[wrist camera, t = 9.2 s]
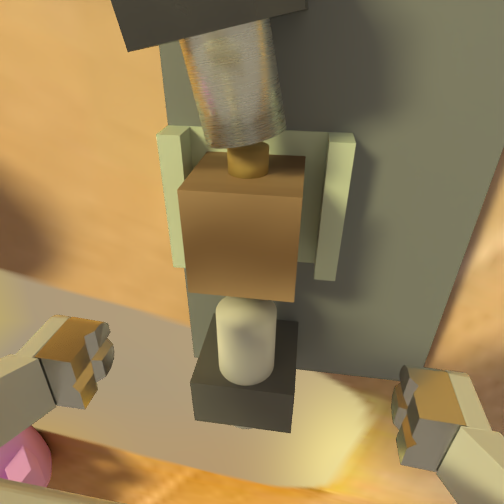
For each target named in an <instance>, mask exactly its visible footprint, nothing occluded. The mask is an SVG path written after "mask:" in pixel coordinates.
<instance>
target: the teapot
mask: <svg viewBox="0 0 504 504" xmlns="http://www.w3.org/2000/svg"><path fill="white" fill-rule="evenodd" d="M51 472H52V459H51V452H50V449H49V447H48V446H47V444H46V442H45V441H44V439H43V438H42V436H41V435H40V434H39V433H38V432H37V430H36V429H35V428H34V427H33V426H32V425H31V426H29V427H28V428H26V429H25V430H24V431H22V432H21V433H20V434H18V435H17V436H15V437H14V438H13V439H11V440H10V441H9V442H7V443H6V444H4V445H3V446H2V447H0V478H3V479H8V480H13V481H17V482H22V483H27V484H32V485H37V486H42V487H47V486H48V484H49V482H50V478H51Z"/></svg>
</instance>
